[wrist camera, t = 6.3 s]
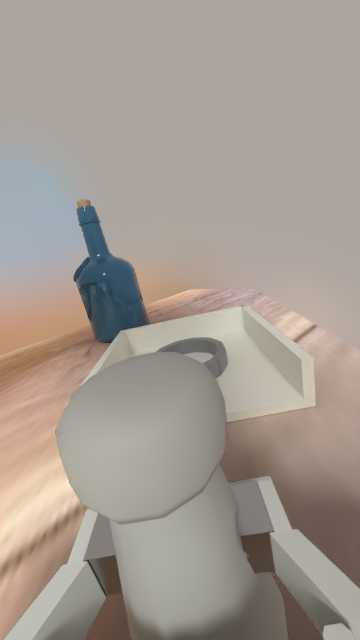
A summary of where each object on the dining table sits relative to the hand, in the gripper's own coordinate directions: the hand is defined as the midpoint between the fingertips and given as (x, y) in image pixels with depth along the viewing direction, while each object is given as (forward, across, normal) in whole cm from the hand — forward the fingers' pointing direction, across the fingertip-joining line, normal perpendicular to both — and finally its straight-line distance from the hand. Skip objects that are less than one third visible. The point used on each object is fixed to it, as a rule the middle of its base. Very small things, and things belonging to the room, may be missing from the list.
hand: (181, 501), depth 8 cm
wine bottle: (+46, +16, +7) cm, 50 cm away
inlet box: (+21, 0, +7) cm, 22 cm away
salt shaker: (-1, 0, +7) cm, 7 cm away
